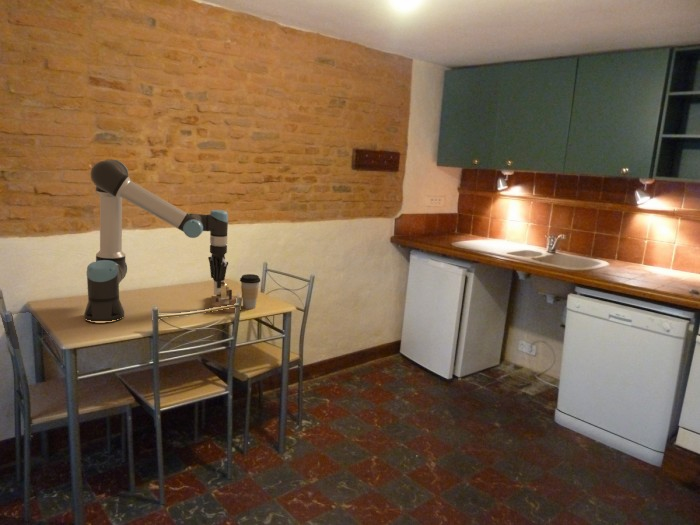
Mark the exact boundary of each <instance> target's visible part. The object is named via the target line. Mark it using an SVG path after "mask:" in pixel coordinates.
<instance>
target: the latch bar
mask: <svg viewBox="0 0 700 525" xmlns="http://www.w3.org/2000/svg"><path fill="white" fill-rule="evenodd" d="M227 287H228V283H227V282H226V281H225V280H224V281H221V298H226V295H227V293H226V288H227Z"/></svg>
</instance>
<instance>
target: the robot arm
mask: <svg viewBox="0 0 700 525" xmlns="http://www.w3.org/2000/svg"><path fill="white" fill-rule="evenodd" d="M129 175H130V174H129V169H128V168H127V166H126V165H125V164H124V163H123V162H121V161H120V160H116V159H113V158H112V159H111V158H110V159H105V160H101V161H98V162H97V163H95V164H94V165H93V166H92V167H91V170H90V179H91V182H92V183H93V185H95V192H96V193H97V194H98V195H99V203H100V204H99V251H98V252H97V253H96V254H95V261H92V262H91V263H89V264H88V265H87V267H86V279H87V280H86V281H87V297H88V298H87V299H88V301H87V303H86V304H87V305H86V306H85V311H84V317H83V318H85V319H87V320H91V321H112V320H117V319H120V318H122V317H124V318H125V311H124V310H125V309H124V308H123V306H122V305H123V304H122V302H121V299H120V283H121V282H122V281H123V279H125V277H126V274H127V273H128V266H127V265H128V264H127V262H126V253H124V252H123V250H122V249H123V248H122V247H123V246H122V245H123V244H122V242H123V241H122V240H123V239H122V236H123V199H124V200H126V201H128V202H130V203H131V204H133V205H135V206H136V207H139V208H140V209H142V210H143V211H145V212H147V213H149V214H151V215H153V216H155V217H156V218H158V219H160V220H162V221H164V222H165V223H167V224H169V225H171V226H172V227H174V228H176V229H178V230H179V231H181V232H183V233H184V235H185V236H186V237H187V238H191V239H195V238H198V237H200V235H202V234H203V233H204V232H209V234H210V236H209V237H210V238H209V243H210V245H209V253H210V254H211V255H210V256H208V262H209V271H210V278H211V279H212V280H213V296H216V295H219V294H221V282H222V281H225V280H226V279H225V278H226V274H227V269H228V266H229V262H228V261H226V257H225V256H226V254H227V253H228V228H229V227H228V225H229V221H228V219H229V216H228V215H229V214H228V212H227V210H222V209H212V210H210V214H206V213H205V214H203V213H191V212H190V213H187V212H185V211H184V210H182V209H181V208H179V207H177V206H175V205H174V204H172V203H171V202H169V201H166V200H165V199H163V198H162V197H160V196H158V195H156V194H155V193H152V192H151V191H149V190H148V189H146V188H144V187H142V186H140V185H139V184H137V183H135V182H134V181H132V180H131V178H130V176H129ZM85 319H84V320H85Z"/></svg>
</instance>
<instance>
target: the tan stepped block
mask: <svg viewBox="0 0 700 525" xmlns="http://www.w3.org/2000/svg"><path fill="white" fill-rule="evenodd" d="M237 296H238V295H233V290H232V289H229V296H226V298H221V296H216V295H211V299H210V300H211V305H210V306H211V309H212V308H213V307H221V306H227V305H234V304H235V303H236V298H237ZM234 312H235V308H229V309H223V310H218V311H213V312H212V311H211V314H217V313H218V314H224V313H225V314H226V313H227V314H229V313H230V314H231V313H234Z"/></svg>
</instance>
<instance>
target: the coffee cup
mask: <svg viewBox="0 0 700 525" xmlns="http://www.w3.org/2000/svg"><path fill="white" fill-rule="evenodd" d="M239 282H240V284H241V285H240V287H241V298H242V308H243V309H245V308H246V309H245V310H253V309H252V308H254V309H256V307H257V306H256V305H257V300H258V294H259V287H260V286H259V285H260V284H259V283H260V282H261V278H260V276H259V275H257V274H253V273H252V274H251V273H245V274H243V275H242V276H241V277H240V278H239Z"/></svg>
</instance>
